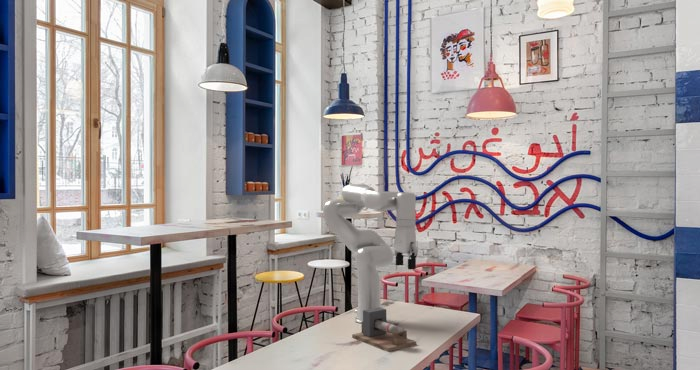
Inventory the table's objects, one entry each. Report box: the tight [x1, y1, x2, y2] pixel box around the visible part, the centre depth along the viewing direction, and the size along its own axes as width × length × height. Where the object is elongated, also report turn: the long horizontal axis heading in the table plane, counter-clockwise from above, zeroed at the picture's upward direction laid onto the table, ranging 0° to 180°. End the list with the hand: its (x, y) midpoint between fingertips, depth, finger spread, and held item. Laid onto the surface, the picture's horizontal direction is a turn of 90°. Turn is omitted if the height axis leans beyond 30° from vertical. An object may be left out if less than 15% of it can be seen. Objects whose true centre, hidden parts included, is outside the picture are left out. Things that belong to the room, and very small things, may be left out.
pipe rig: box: [351, 319, 417, 353], centre depth 183 cm, size 21×13×7 cm, turn 35°
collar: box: [363, 306, 387, 337], centre depth 187 cm, size 4×8×9 cm, turn 125°
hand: (405, 267), depth 197 cm, fingers open, 9 cm apart
